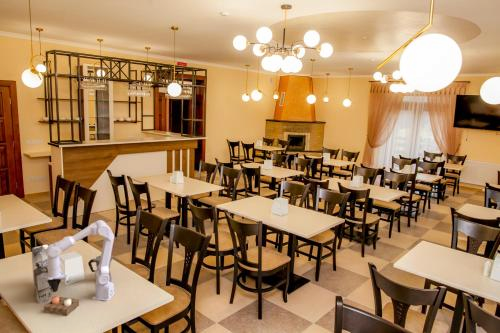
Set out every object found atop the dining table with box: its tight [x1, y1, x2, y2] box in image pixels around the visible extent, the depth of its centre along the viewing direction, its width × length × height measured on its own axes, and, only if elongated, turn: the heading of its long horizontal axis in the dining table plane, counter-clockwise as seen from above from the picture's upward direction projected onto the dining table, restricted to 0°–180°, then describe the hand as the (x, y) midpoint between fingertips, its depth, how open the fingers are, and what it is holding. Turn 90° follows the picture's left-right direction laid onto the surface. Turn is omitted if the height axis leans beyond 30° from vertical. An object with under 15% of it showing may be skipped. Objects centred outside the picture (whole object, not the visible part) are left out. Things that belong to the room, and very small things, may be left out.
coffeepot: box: [87, 254, 115, 282], centre depth 215 cm, size 15×9×18 cm, turn 129°
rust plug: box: [51, 295, 60, 305], centre depth 185 cm, size 3×3×5 cm
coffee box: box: [32, 267, 52, 304], centre depth 194 cm, size 9×6×16 cm
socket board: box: [43, 296, 80, 317], centre depth 185 cm, size 13×10×4 cm
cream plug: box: [64, 299, 71, 306], centre depth 184 cm, size 3×3×5 cm
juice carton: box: [31, 243, 52, 290], centre depth 202 cm, size 9×10×27 cm
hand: (55, 291), depth 184 cm, fingers closed
